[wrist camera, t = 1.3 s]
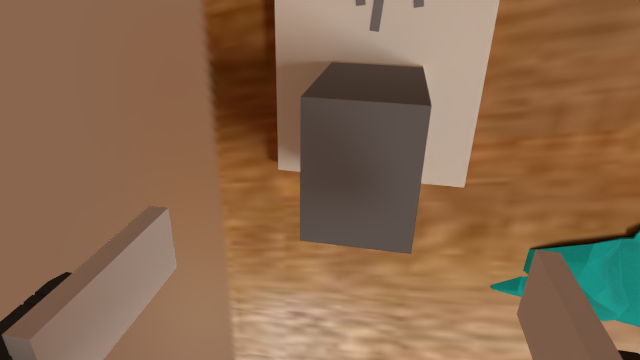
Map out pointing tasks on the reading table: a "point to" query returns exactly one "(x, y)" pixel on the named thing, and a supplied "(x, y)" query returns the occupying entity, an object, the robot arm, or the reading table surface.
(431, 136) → the board
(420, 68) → the block
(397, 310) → the reading table surface
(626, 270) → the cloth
